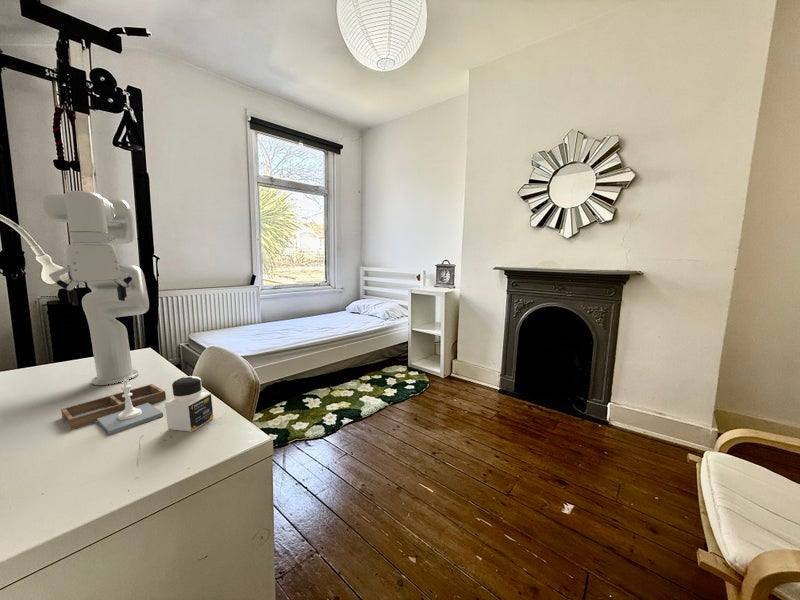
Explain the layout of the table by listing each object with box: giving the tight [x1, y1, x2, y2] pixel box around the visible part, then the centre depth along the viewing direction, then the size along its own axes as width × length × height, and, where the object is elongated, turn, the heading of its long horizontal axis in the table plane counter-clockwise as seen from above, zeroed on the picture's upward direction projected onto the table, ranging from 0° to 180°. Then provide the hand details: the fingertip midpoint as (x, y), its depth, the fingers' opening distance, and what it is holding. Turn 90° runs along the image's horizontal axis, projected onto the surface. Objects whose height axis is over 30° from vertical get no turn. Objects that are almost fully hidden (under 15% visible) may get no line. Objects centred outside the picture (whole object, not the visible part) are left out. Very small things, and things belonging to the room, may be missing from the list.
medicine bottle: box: [164, 375, 214, 433], centre depth 82 cm, size 7×7×12 cm
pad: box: [96, 403, 164, 436], centre depth 85 cm, size 11×11×1 cm
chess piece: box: [118, 379, 142, 420], centre depth 85 cm, size 5×5×10 cm
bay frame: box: [60, 383, 167, 430], centre depth 92 cm, size 11×20×2 cm, turn 145°
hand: (99, 302), depth 89 cm, fingers open, 9 cm apart
